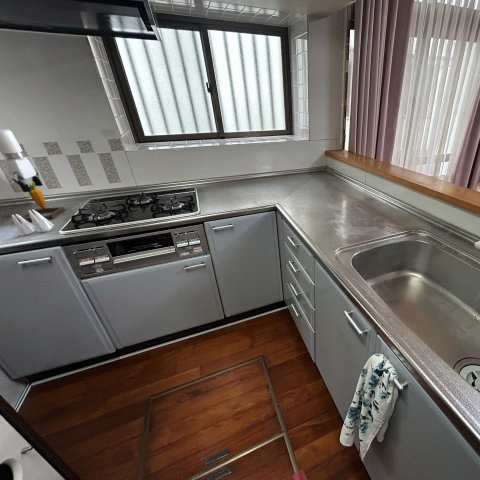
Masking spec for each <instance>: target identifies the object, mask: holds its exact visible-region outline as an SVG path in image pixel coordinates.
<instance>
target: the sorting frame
mask: <svg viewBox="0 0 480 480" xmlns="http://www.w3.org/2000/svg"><path fill="white" fill-rule="evenodd" d="M32 210H33V209H30V211H31V212H32V213H33V211H32ZM34 210H35V211H36V212H38V213H39V214H44V213H50V214H48V215H47V214H46V215H42V216H43V217H44V218H46V219H47V220H48V221H50V220H54V219H55V218H57V216H59V215H61V214H62V213H63V212H65V211H66V210H65V208H64V206H55V207H54V206H53V207H46V208H34ZM33 214H34V213H33ZM20 216H21V217H22V218H24V219H25V220H26V221H28V222H29V223H31V222H32V220H31V217H30V215H29V212H28V211H27V212H25V213H24V214H22V215H20ZM16 218H17V220H18V221H19V222H20V223H21V221H20V220H19V219H18V217H16Z"/></svg>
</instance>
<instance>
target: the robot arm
mask: <svg viewBox="0 0 480 480" xmlns="http://www.w3.org/2000/svg"><path fill="white" fill-rule="evenodd" d="M0 154H1V156H3V159H4V160H5V164H6V167H7V169H8V171H9V174H10V175H11V180H12V181H13V182H14V183H15V184H17V186H19V187H20V189H21V190H22V192H23V193H29V192H31V189H30V188H29V187H30V186H29V183H27V180H29V179H31V182H34V183H35V185H36V187H42V186H44V185H43V182H42V181H41V179H40V176H39V172H38V169H37V168H35V167H33V165H32V163H31V162H30V161H29V159H28V158H27V156H26V154H25V153H24V151H23V149H22V147H21V145H20V144H19V142H18V140H17V138H16V136H15V135H14V133H13V131H12V130H10V129H7V128H3V129H2V128H1V129H0Z"/></svg>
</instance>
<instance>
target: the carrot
mask: <svg viewBox="0 0 480 480" xmlns="http://www.w3.org/2000/svg"><path fill="white" fill-rule="evenodd" d="M28 186H29V188H30V189H31V192H28V195H29V196H30V197H31V199H32V200H33V201H34V203H35V204H36V205H37V206H38V207H40V209H42V208H47V203H46V198H45V196H44V194H43V192H42V190H41V189H40V188H37V186H36V185H35V183H34V182H33V181H31V183H28Z"/></svg>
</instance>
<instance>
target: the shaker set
mask: <svg viewBox="0 0 480 480" xmlns="http://www.w3.org/2000/svg"><path fill="white" fill-rule="evenodd" d="M31 210H32V211H33V213H34V214H33V213H32V212H31ZM27 212H29V215H30V217H31V220H32V221H31V222H28V221H26V220H25V219H24V218H22V217H21V216H22V215H20V214H17V213H15V215H14V214H11V218H12V221H13V223H14V225H15V227H16V230H17V231H18V233H19V236H21V237H22V236H26V235H30V234H33V233H34V232H38V233H39V232H41V233H47V232H50V231H51V230H52V229H53V228H54V226H55V224H53V223H52V222H51V221H50V220H47V219H46V218H44V217H43V216H44V215H42V214H41V213H38V212H36V211H35V209H29V210H28V211H27ZM17 218H18V219H19V220H20V221H21V222H19V221H18V219H17Z"/></svg>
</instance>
